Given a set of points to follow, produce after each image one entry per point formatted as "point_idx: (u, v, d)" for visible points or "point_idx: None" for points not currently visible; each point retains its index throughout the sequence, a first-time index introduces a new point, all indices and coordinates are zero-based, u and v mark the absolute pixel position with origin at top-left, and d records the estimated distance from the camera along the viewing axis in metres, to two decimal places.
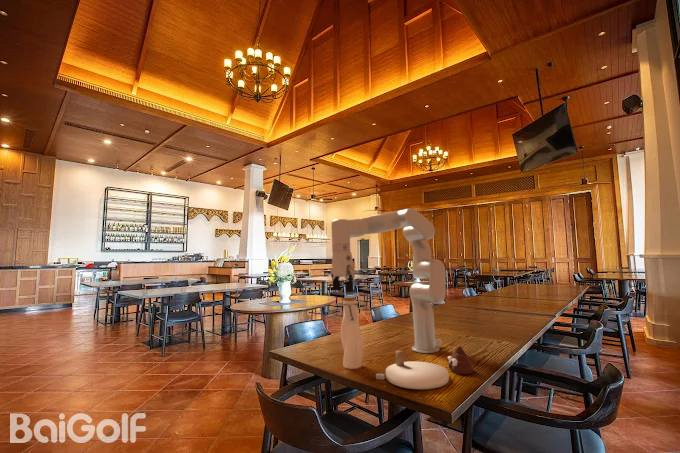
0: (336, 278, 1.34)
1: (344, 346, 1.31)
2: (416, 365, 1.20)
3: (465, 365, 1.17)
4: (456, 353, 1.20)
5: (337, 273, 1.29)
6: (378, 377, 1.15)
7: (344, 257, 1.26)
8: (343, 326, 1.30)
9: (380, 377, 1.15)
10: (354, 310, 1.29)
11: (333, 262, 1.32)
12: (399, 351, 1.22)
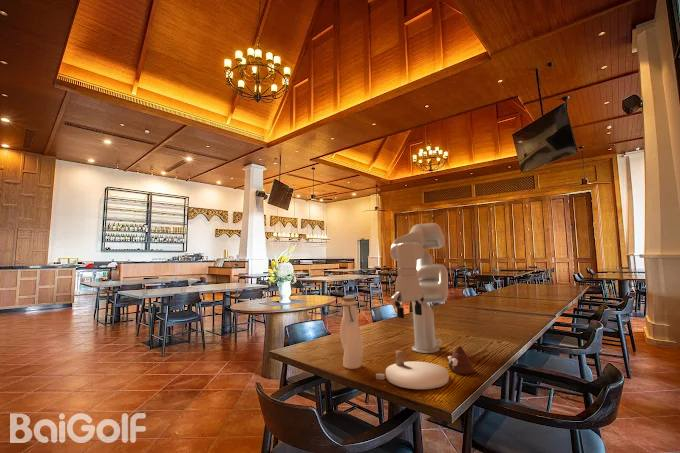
0: None
1: (344, 346, 1.31)
2: (416, 365, 1.20)
3: (465, 365, 1.17)
4: (456, 353, 1.20)
5: (412, 298, 1.26)
6: (378, 377, 1.15)
7: None
8: (342, 327, 1.29)
9: (380, 377, 1.15)
10: (353, 311, 1.27)
11: (406, 287, 1.25)
12: (399, 351, 1.22)
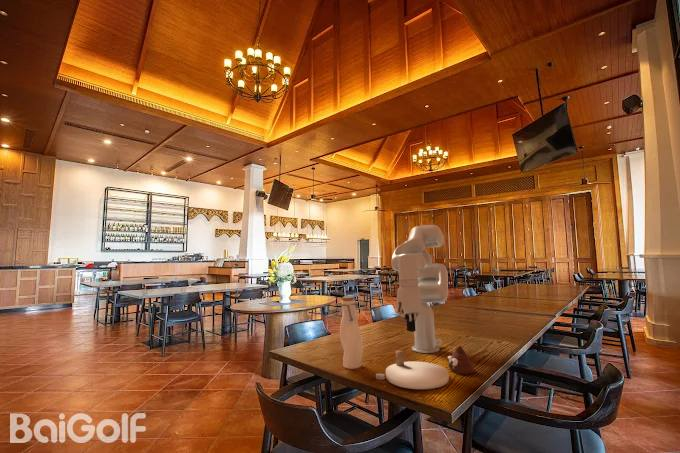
0: None
1: (344, 346, 1.31)
2: (416, 365, 1.20)
3: (465, 365, 1.17)
4: (456, 353, 1.20)
5: (413, 310, 1.25)
6: (378, 377, 1.15)
7: None
8: (342, 326, 1.30)
9: (380, 377, 1.15)
10: (353, 310, 1.28)
11: (408, 298, 1.24)
12: (399, 351, 1.22)
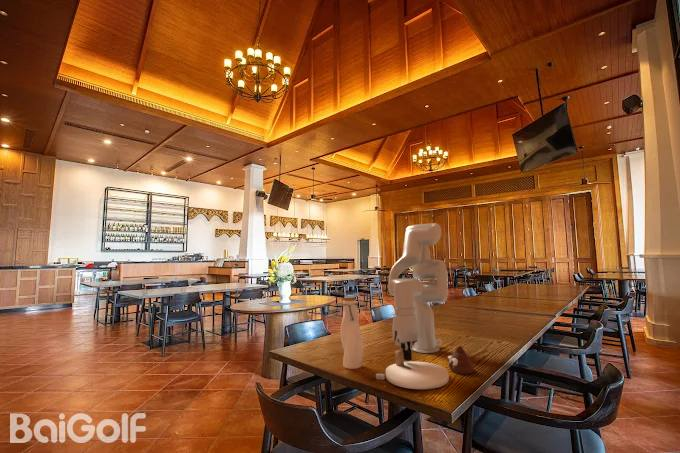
0: None
1: (344, 346, 1.31)
2: (416, 365, 1.20)
3: (465, 365, 1.17)
4: (456, 353, 1.20)
5: (409, 338, 1.22)
6: (378, 377, 1.15)
7: None
8: (343, 326, 1.30)
9: (380, 377, 1.15)
10: (354, 310, 1.29)
11: (404, 327, 1.21)
12: (399, 351, 1.22)
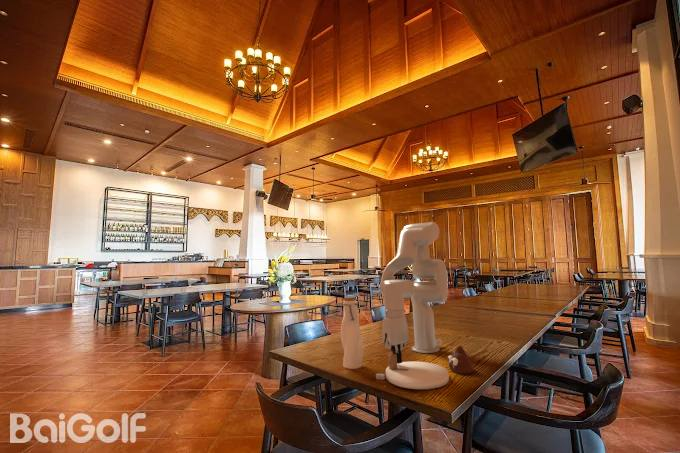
0: None
1: (344, 346, 1.31)
2: (406, 365, 1.20)
3: (465, 364, 1.17)
4: (456, 352, 1.21)
5: (399, 341, 1.20)
6: (378, 377, 1.15)
7: None
8: (343, 326, 1.30)
9: (380, 377, 1.15)
10: (354, 310, 1.29)
11: (394, 330, 1.19)
12: (392, 354, 1.18)
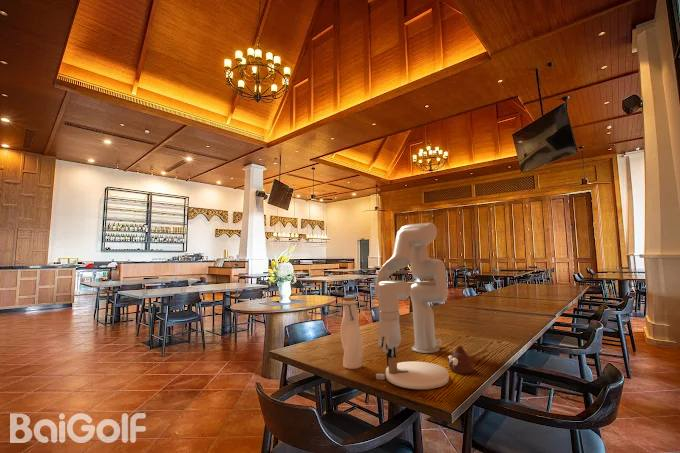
0: None
1: (344, 346, 1.31)
2: (400, 367, 1.18)
3: (465, 364, 1.18)
4: (456, 352, 1.21)
5: (395, 343, 1.17)
6: (378, 377, 1.15)
7: None
8: (343, 326, 1.30)
9: (380, 377, 1.15)
10: (354, 310, 1.29)
11: (392, 332, 1.15)
12: (392, 358, 1.14)
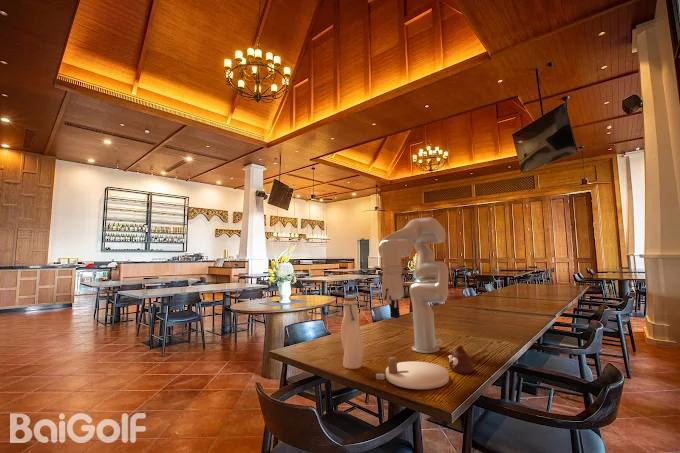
0: None
1: (344, 346, 1.31)
2: (400, 367, 1.18)
3: (465, 364, 1.18)
4: (457, 352, 1.21)
5: (398, 296, 1.24)
6: (378, 377, 1.15)
7: None
8: (343, 326, 1.30)
9: (380, 377, 1.15)
10: (355, 310, 1.29)
11: (395, 285, 1.22)
12: (392, 358, 1.14)
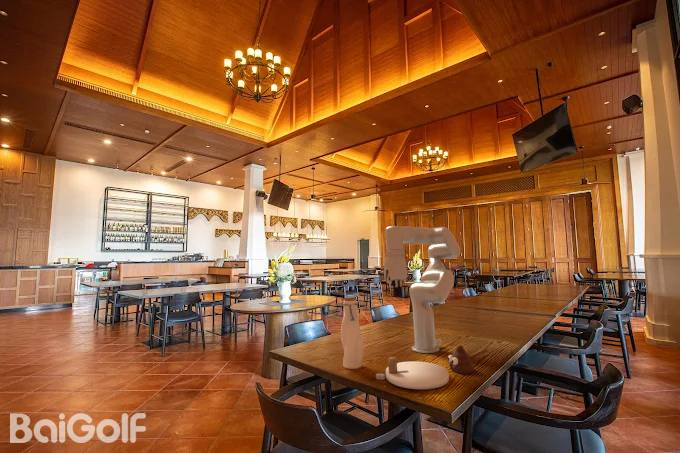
0: None
1: (344, 346, 1.31)
2: (400, 367, 1.18)
3: (466, 364, 1.18)
4: (457, 352, 1.21)
5: (399, 277, 1.37)
6: (378, 377, 1.15)
7: None
8: (343, 326, 1.30)
9: (380, 377, 1.15)
10: (354, 310, 1.29)
11: (394, 266, 1.36)
12: (392, 358, 1.14)
